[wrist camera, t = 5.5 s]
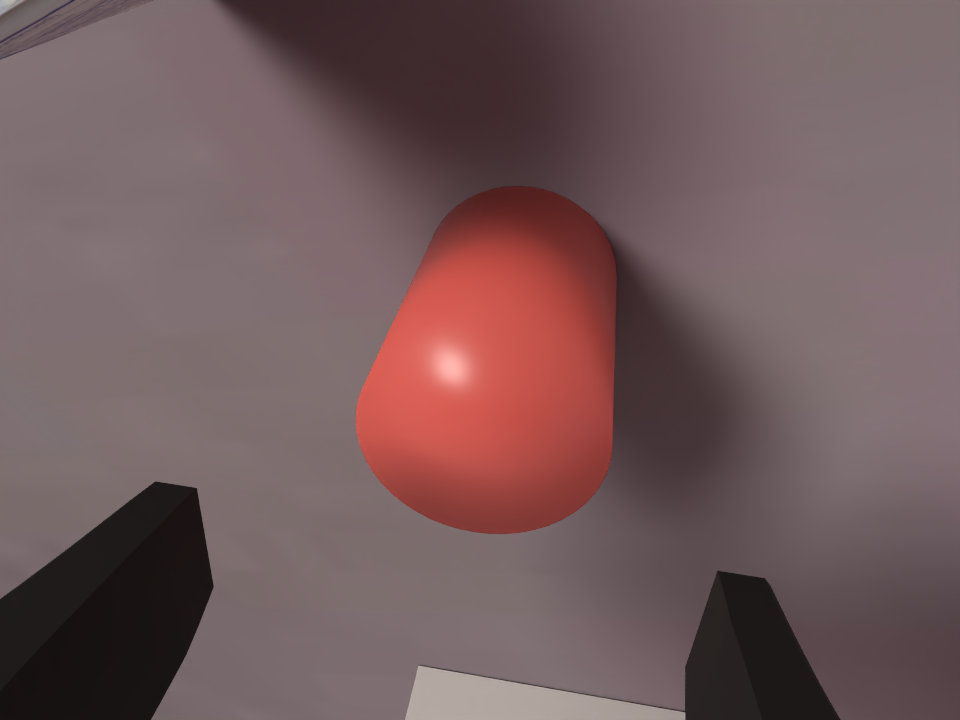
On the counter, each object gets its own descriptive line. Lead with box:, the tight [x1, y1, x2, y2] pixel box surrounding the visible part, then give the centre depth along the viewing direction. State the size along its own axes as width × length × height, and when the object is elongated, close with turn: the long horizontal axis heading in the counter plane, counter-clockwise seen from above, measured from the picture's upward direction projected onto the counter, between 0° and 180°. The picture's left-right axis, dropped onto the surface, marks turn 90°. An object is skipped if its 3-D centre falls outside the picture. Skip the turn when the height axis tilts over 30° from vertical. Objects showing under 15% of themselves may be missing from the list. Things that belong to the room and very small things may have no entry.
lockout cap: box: [356, 186, 617, 534], centre depth 16 cm, size 4×4×6 cm
